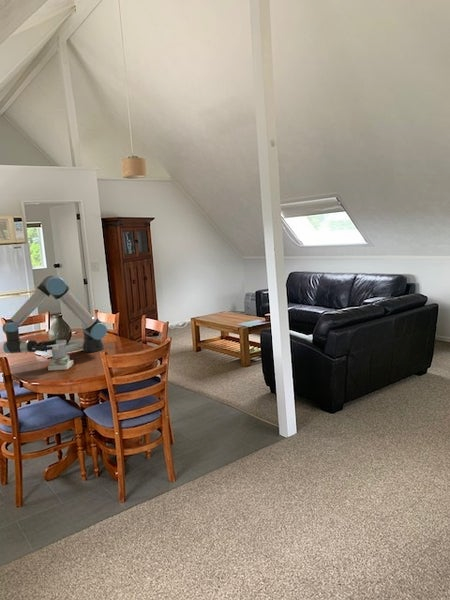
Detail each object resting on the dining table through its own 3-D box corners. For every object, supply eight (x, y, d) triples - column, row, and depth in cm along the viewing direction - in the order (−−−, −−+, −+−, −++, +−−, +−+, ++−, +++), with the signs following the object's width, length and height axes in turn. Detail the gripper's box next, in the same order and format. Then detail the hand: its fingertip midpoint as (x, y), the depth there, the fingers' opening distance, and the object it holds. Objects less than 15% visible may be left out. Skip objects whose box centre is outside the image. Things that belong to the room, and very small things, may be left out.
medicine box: (63, 355, 295) (62, 342, 293) (67, 356, 292) (66, 343, 290) (52, 358, 289) (50, 345, 287) (56, 359, 286) (54, 346, 285)
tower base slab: (73, 365, 297) (73, 359, 296) (67, 370, 285) (66, 365, 285) (55, 365, 297) (55, 360, 297) (48, 371, 285) (47, 366, 285)
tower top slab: (69, 360, 296) (69, 354, 296) (67, 364, 287) (66, 359, 286) (53, 361, 295) (53, 356, 294) (50, 366, 285) (50, 360, 284)
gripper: (38, 347, 302) (69, 345, 301) (20, 357, 277) (55, 355, 277) (37, 336, 301) (68, 334, 300) (19, 345, 276) (53, 343, 276)
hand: (62, 344), depth 288 cm, fingers open, 13 cm apart
